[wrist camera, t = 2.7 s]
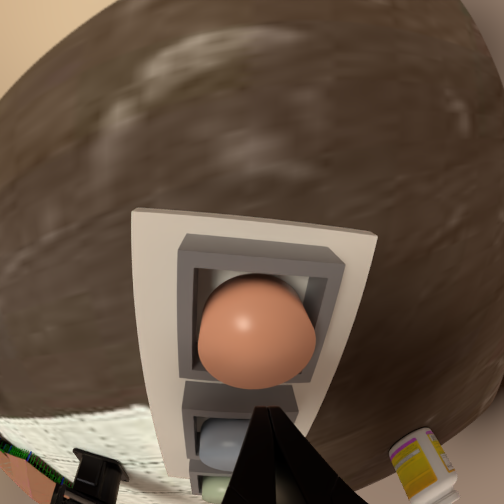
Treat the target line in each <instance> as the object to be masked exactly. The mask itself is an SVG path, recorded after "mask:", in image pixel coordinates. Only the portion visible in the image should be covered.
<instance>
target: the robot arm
mask: <svg viewBox="0 0 504 504" xmlns="http://www.w3.org/2000/svg"><path fill="white" fill-rule="evenodd" d="M73 453H74V454H75V455H76V457H77V458H78V459H79V461H80V463H79V466H78V470H77V473H76V476H75V479H74V483H73V486H72V488H70V487H68V486H67V485H65V484H59V483H57V482H56V485H55V488H54V492H53V495H52V498H51V502H50V504H116V500H117V495H118V490H119V485H120V481H121V480H122V481H126V482H129V478H128V477H127V475H126V473H125V472H124V470H123V468H122V467H121V465H120V463H119V462H117V461H114V460H110V459H107V458H103V457H100V456H96V455H93V454H90V453H87V452H84V451H81V450H78V449H75V448H74V449H73ZM64 495H66V496H68V497H70V498H69V499H67V498H65V497H64ZM221 504H368V503H367V502H366V501H365V500H363V499H362V498H361V497H360V496H358V495H357V494H356V493H355V492H354V491H353V490H352V489H351V488H350V487H349V486H348V485H347V484H346V483H345V482H344V481H343V480H342V479H341V478H340V477H338V474H337V473H336V472H335V471H334V470H333V469H332V468H331V467H330V466H329V465H328V463H327V462H326V461H325V460H324V459H323V458H322V457H321V455H320V454H319V453H318V452H317V451H316V450H315V448H314V447H313V446H312V445H311V444H310V443H309V441H308V440H307V439H306V438H305V437H304V435H303V434H302V433H301V432H300V431H299V429H298V428H297V427H296V426H295V425H294V423H293V422H292V421H291V420H290V418H289V417H288V416H287V415H286V413H285V412H284V411H283V410H282V408H281V407H280V406H267V407H266V406H255V407H254V409H253V412H252V415H251V419H250V422H249V425H248V428H247V431H246V434H245V437H244V440H243V443H242V446H241V449H240V452H239V455H238V458H237V461H236V464H235V467H234V470H233V473H232V476H231V479H230V481H229V484H228V487H227V489H226V492H225V495H224V497H223V500H222V502H221Z"/></svg>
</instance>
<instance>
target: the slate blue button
mask: <svg viewBox="0 0 504 504" xmlns="http://www.w3.org/2000/svg"><path fill="white" fill-rule="evenodd" d="M249 422H250V419H228V418H211V417H210V418H208V419H207V420H206V421H205V422H203V424H202V426H201V435H200V453H199V457H200V459H201V461H202V462H203V463H204V464H206V465H207V466H209V467H212V468H215V469H218V470H223V471H232V472H233V470H234V467H235V464H236V461H237V458H238V455H239V452H240V449H241V446H242V443H243V440H244V437H245V434H246V431H247V428H248V425H249Z"/></svg>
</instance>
